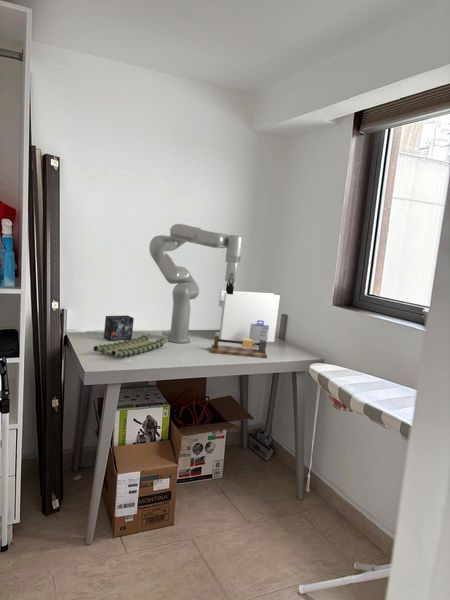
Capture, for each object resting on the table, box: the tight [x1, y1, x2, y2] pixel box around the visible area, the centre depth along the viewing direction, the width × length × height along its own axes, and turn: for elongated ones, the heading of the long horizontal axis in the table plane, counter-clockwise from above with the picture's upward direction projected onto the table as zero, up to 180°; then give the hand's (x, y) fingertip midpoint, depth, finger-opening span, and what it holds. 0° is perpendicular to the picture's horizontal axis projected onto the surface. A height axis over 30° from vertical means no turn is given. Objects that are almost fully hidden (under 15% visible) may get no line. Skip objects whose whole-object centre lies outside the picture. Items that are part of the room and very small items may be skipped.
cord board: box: [211, 335, 268, 359], centre depth 240 cm, size 28×12×8 cm, turn 92°
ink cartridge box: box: [249, 320, 269, 348], centre depth 259 cm, size 10×6×14 cm, turn 78°
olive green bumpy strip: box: [93, 333, 169, 359], centre depth 222 cm, size 41×14×5 cm, turn 152°
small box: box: [103, 314, 135, 342], centre depth 241 cm, size 13×7×12 cm, turn 131°
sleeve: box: [241, 339, 253, 348], centre depth 240 cm, size 5×4×4 cm
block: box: [214, 289, 281, 343], centre depth 271 cm, size 35×8×28 cm, turn 114°
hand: (229, 292), depth 238 cm, fingers open, 9 cm apart
